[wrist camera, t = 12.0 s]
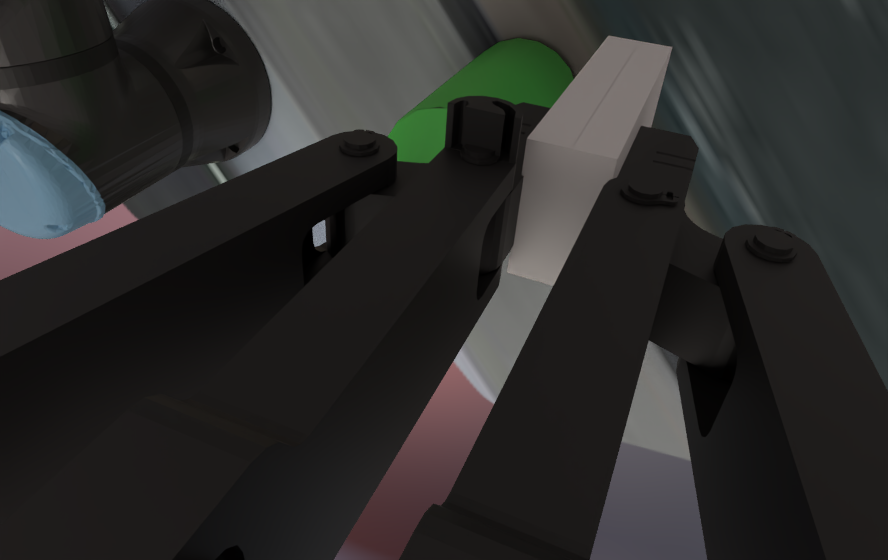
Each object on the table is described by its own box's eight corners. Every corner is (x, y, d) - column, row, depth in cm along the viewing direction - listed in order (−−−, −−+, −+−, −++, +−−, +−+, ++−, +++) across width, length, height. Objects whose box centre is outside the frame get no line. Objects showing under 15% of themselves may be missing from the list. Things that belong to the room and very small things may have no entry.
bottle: (467, 34, 51) (281, 168, 32) (580, 34, 48) (448, 182, 29) (475, 144, 56) (317, 316, 37) (579, 150, 52) (464, 343, 34)
